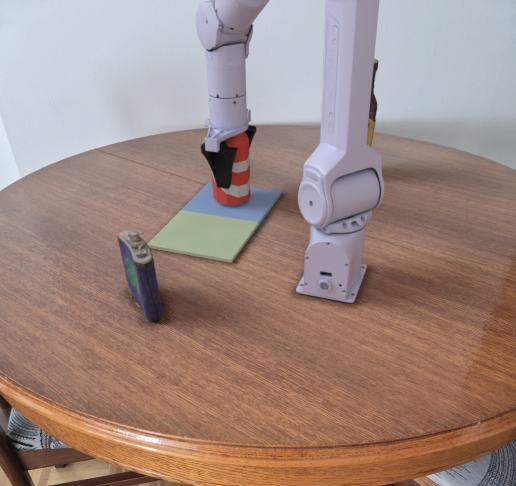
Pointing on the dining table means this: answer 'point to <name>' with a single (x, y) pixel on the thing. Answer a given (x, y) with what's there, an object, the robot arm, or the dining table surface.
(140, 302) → the flask
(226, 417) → the dining table surface
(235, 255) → the sorting mat
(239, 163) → the beverage can
